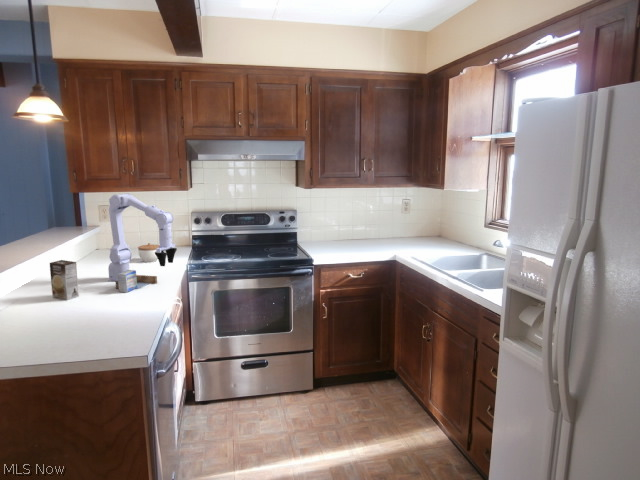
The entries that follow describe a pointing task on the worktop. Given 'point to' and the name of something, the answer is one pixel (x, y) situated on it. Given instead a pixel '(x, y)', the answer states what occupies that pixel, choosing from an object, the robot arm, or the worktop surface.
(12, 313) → the worktop surface
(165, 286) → the worktop surface
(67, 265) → the coffee box
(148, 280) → the brown wooden block
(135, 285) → the medicine box
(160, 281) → the worktop surface
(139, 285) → the pad
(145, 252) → the lidded bowl
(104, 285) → the worktop surface
